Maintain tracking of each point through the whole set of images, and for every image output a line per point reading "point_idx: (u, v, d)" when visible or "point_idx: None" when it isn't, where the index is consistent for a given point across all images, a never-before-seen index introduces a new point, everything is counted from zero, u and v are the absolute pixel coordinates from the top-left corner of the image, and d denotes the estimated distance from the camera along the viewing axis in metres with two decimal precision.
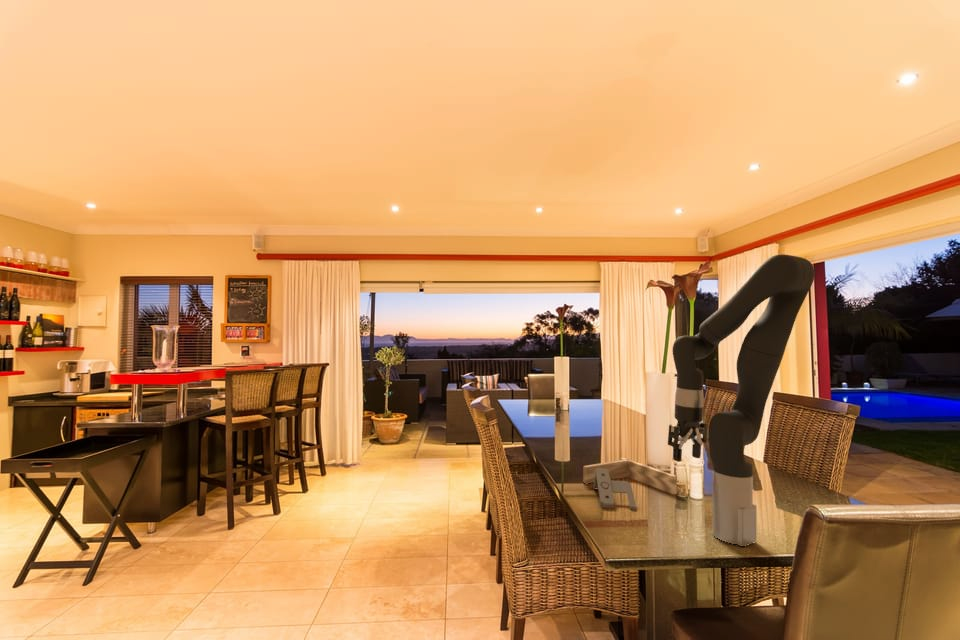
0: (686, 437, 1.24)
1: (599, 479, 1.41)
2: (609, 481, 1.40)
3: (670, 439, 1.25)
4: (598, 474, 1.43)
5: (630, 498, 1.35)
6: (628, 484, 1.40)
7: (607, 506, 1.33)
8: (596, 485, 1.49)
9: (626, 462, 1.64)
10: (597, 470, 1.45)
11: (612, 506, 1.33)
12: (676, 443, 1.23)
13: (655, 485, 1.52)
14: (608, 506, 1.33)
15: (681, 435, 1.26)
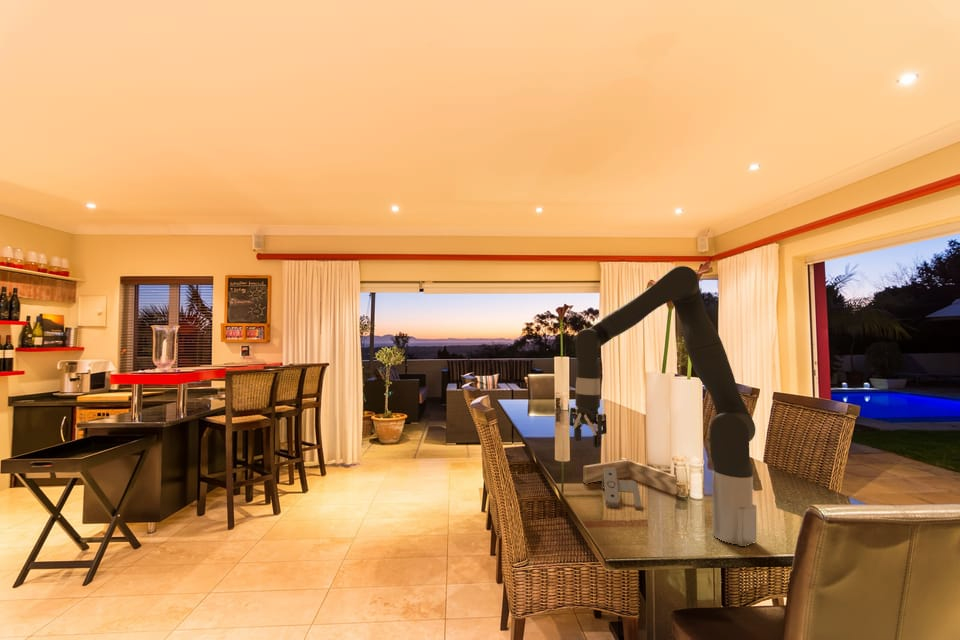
0: None
1: (606, 478, 1.42)
2: (616, 480, 1.41)
3: None
4: (605, 473, 1.44)
5: (636, 497, 1.36)
6: (635, 484, 1.40)
7: (612, 505, 1.34)
8: None
9: (626, 462, 1.64)
10: (604, 469, 1.46)
11: (617, 505, 1.34)
12: None
13: (655, 485, 1.52)
14: (613, 505, 1.34)
15: (593, 422, 1.34)
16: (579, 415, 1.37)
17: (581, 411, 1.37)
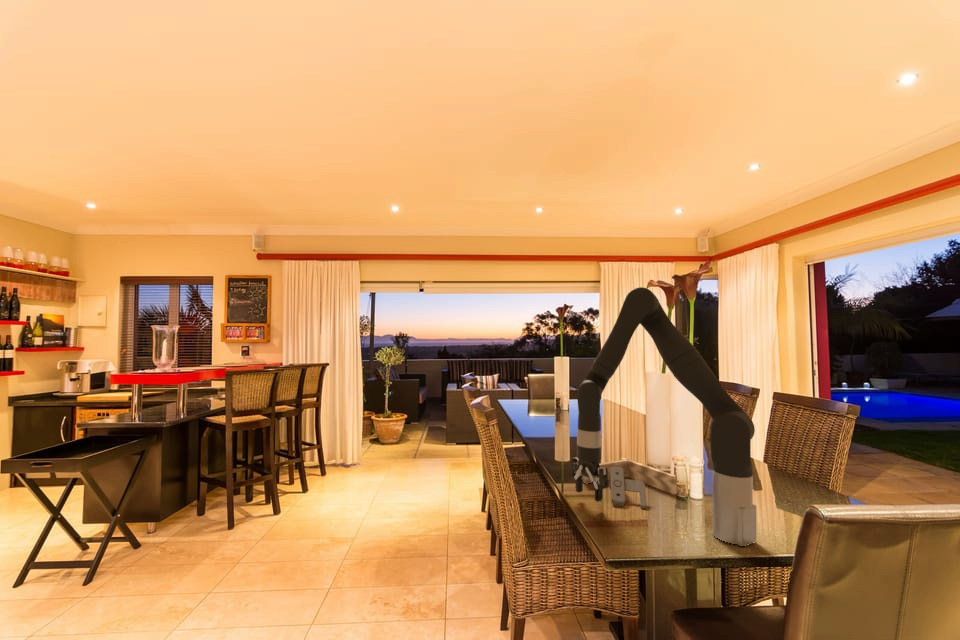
0: None
1: (612, 477, 1.43)
2: (622, 480, 1.42)
3: None
4: (612, 472, 1.45)
5: (642, 497, 1.36)
6: (642, 483, 1.41)
7: (617, 504, 1.35)
8: None
9: (626, 462, 1.64)
10: (612, 468, 1.47)
11: (622, 504, 1.35)
12: None
13: (655, 485, 1.52)
14: (618, 504, 1.35)
15: (594, 475, 1.34)
16: (580, 467, 1.37)
17: (582, 463, 1.37)
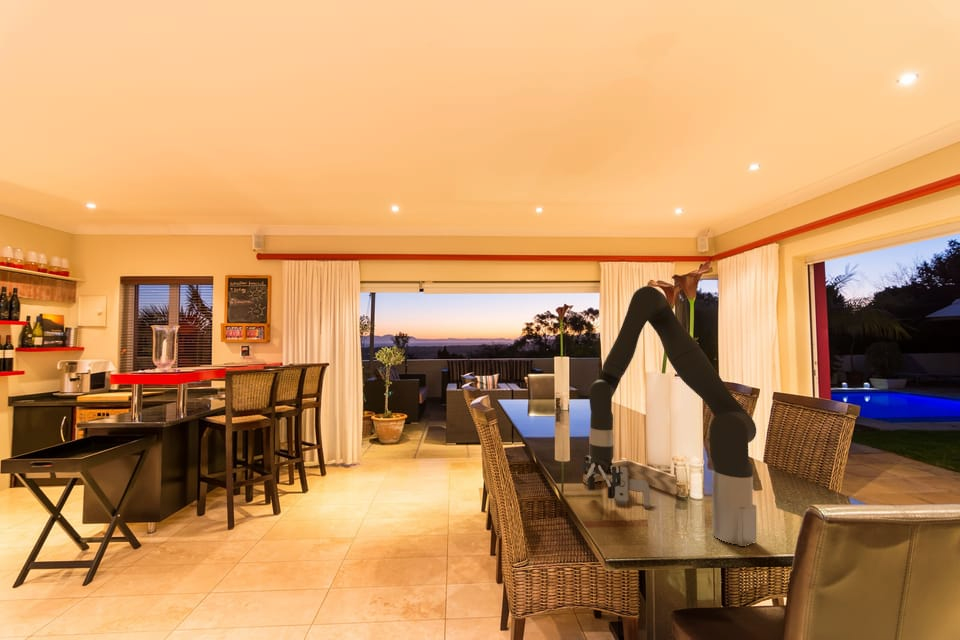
0: None
1: None
2: (626, 479, 1.42)
3: None
4: None
5: (645, 497, 1.36)
6: (646, 483, 1.41)
7: (620, 503, 1.36)
8: None
9: (626, 462, 1.64)
10: None
11: (625, 503, 1.35)
12: None
13: (655, 485, 1.52)
14: (621, 503, 1.36)
15: (607, 473, 1.36)
16: (593, 465, 1.39)
17: (595, 461, 1.39)
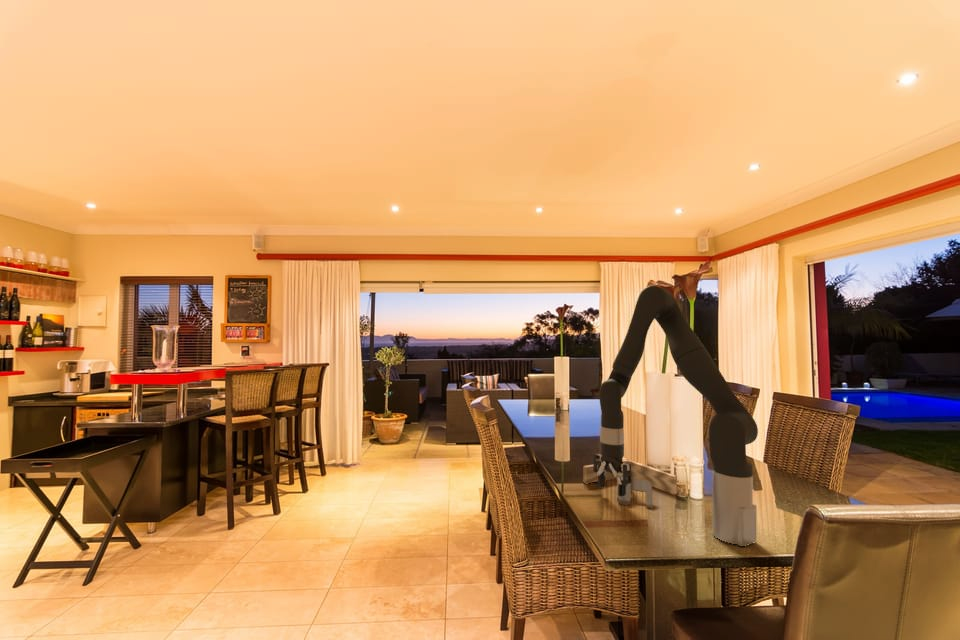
0: None
1: None
2: None
3: None
4: (619, 472, 1.46)
5: (648, 497, 1.36)
6: (649, 483, 1.41)
7: (623, 503, 1.36)
8: None
9: (626, 462, 1.64)
10: None
11: (628, 503, 1.36)
12: None
13: (655, 485, 1.52)
14: (624, 503, 1.36)
15: (617, 471, 1.38)
16: (603, 463, 1.41)
17: (605, 459, 1.42)
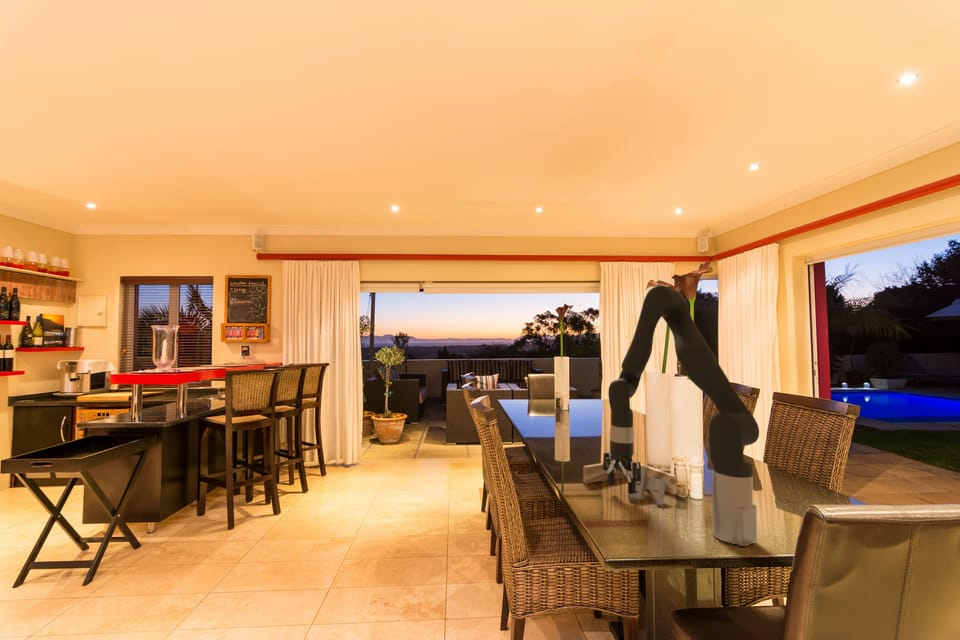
0: None
1: None
2: (643, 478, 1.44)
3: None
4: None
5: (659, 496, 1.38)
6: (662, 483, 1.42)
7: (633, 500, 1.39)
8: None
9: None
10: None
11: (638, 501, 1.38)
12: None
13: None
14: (634, 500, 1.38)
15: (627, 469, 1.41)
16: (613, 461, 1.43)
17: (615, 457, 1.44)
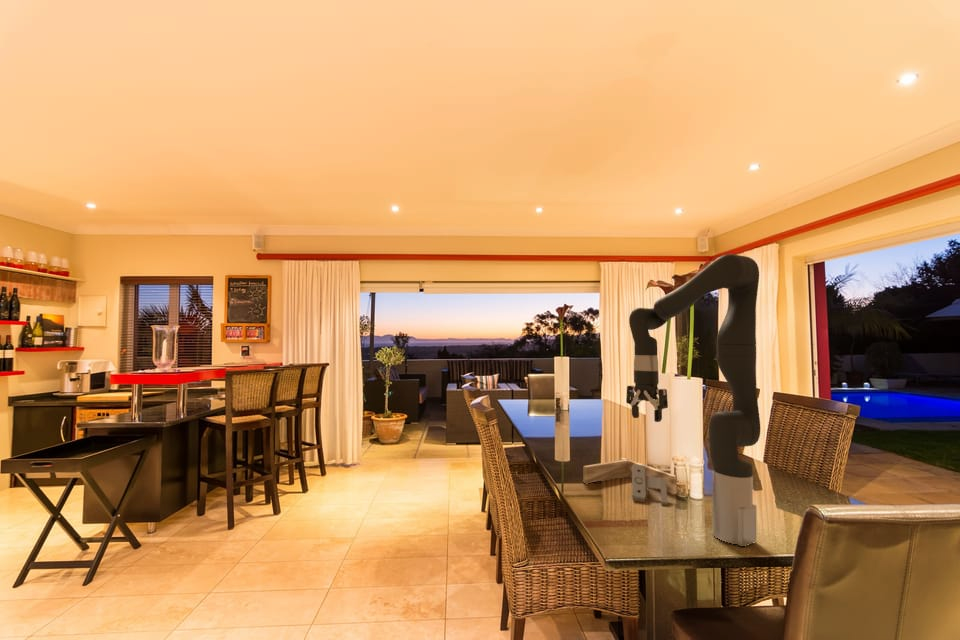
0: None
1: (634, 474, 1.47)
2: (644, 477, 1.45)
3: None
4: (634, 470, 1.49)
5: (663, 494, 1.39)
6: (663, 481, 1.44)
7: (638, 500, 1.39)
8: None
9: (626, 462, 1.64)
10: (633, 466, 1.50)
11: (643, 500, 1.38)
12: None
13: None
14: (639, 500, 1.39)
15: (653, 398, 1.38)
16: (638, 392, 1.41)
17: (639, 388, 1.42)
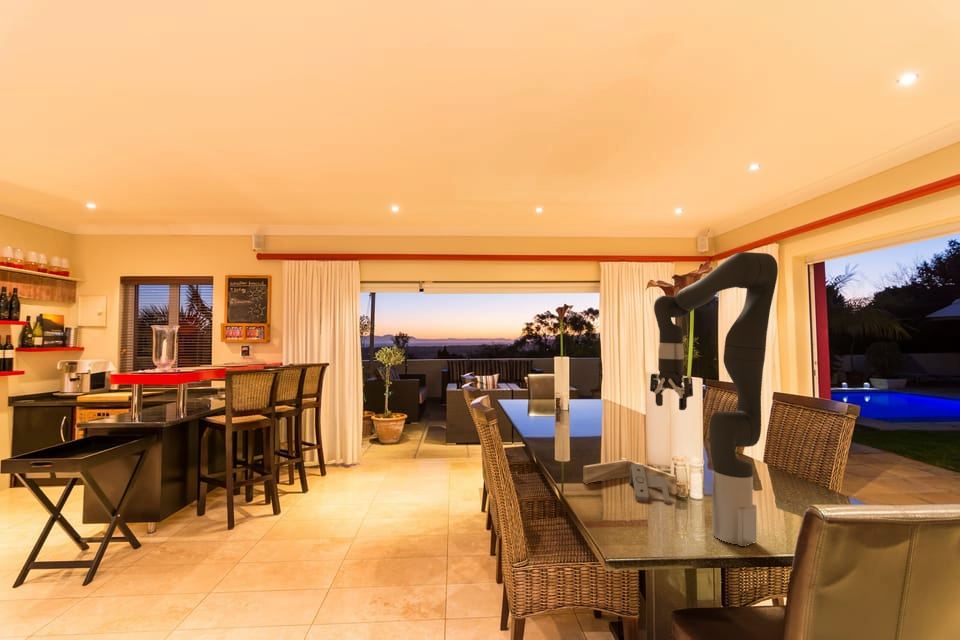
0: None
1: (634, 474, 1.47)
2: (644, 476, 1.46)
3: None
4: (633, 469, 1.49)
5: (664, 492, 1.40)
6: (663, 479, 1.45)
7: (642, 499, 1.39)
8: (632, 480, 1.55)
9: (626, 462, 1.64)
10: (632, 465, 1.51)
11: (646, 499, 1.39)
12: None
13: None
14: (642, 499, 1.39)
15: (677, 386, 1.38)
16: (662, 380, 1.41)
17: (664, 376, 1.41)
